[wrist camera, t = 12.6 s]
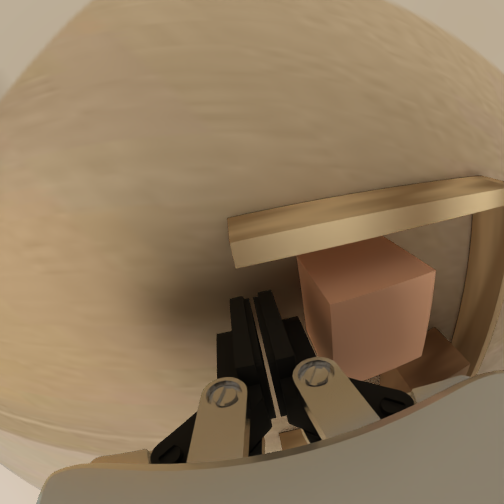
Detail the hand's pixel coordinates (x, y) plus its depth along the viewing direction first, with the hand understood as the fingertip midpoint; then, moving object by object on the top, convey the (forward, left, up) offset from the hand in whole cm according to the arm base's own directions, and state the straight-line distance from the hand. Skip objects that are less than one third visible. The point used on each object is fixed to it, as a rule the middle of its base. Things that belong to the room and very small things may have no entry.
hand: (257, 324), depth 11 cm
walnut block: (-9, +7, -1) cm, 11 cm away
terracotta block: (-4, 0, -1) cm, 4 cm away
